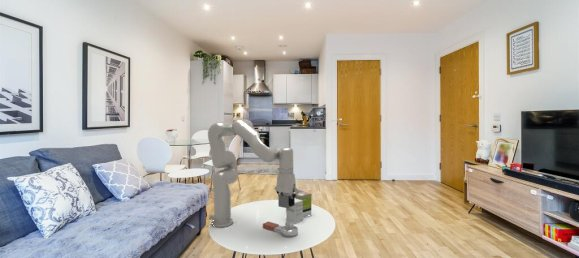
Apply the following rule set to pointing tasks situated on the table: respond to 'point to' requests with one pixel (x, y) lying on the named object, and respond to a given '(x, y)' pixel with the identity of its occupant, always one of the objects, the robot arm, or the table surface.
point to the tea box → (305, 202)
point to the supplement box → (295, 212)
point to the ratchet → (282, 228)
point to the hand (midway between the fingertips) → (286, 204)
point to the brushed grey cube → (284, 200)
